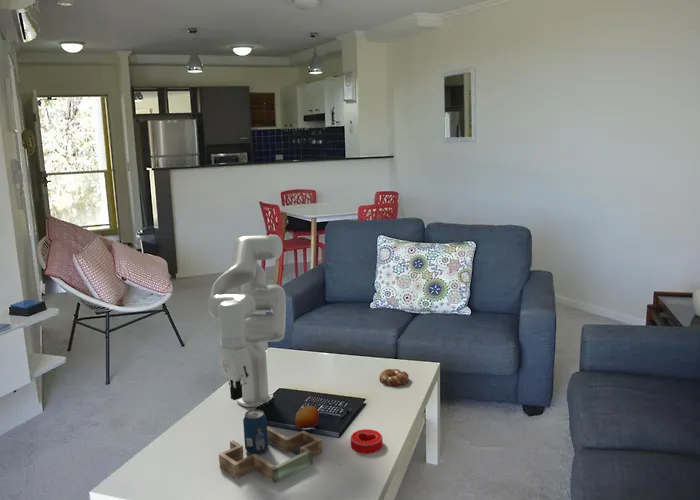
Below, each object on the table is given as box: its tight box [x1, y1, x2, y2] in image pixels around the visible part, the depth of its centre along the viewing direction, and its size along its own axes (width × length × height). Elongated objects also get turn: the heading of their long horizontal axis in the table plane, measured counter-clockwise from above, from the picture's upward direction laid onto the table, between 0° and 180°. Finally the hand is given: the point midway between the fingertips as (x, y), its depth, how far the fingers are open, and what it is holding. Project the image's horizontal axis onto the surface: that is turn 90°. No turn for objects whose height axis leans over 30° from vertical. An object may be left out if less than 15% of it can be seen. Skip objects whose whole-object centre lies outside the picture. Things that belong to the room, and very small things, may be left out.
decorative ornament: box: [350, 428, 383, 455], centre depth 189 cm, size 10×10×3 cm
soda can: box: [242, 408, 269, 456], centre depth 186 cm, size 7×7×12 cm
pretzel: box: [378, 368, 409, 387], centre depth 234 cm, size 12×11×4 cm
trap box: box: [218, 426, 323, 484], centre depth 182 cm, size 22×26×4 cm
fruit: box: [294, 405, 320, 430], centre depth 200 cm, size 8×8×8 cm
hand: (236, 398), depth 190 cm, fingers closed
